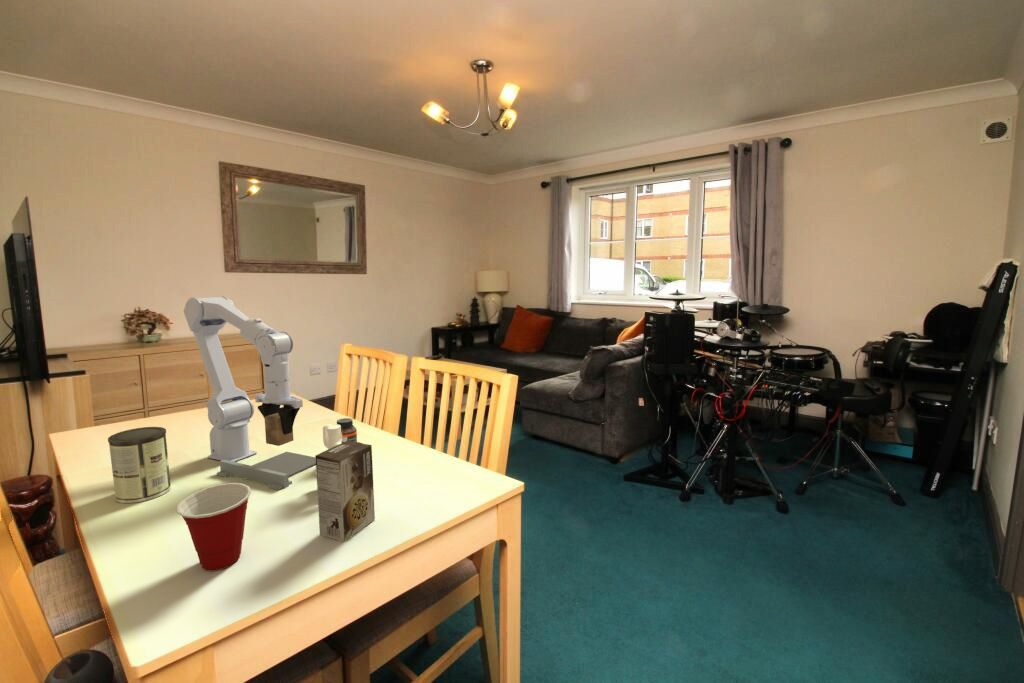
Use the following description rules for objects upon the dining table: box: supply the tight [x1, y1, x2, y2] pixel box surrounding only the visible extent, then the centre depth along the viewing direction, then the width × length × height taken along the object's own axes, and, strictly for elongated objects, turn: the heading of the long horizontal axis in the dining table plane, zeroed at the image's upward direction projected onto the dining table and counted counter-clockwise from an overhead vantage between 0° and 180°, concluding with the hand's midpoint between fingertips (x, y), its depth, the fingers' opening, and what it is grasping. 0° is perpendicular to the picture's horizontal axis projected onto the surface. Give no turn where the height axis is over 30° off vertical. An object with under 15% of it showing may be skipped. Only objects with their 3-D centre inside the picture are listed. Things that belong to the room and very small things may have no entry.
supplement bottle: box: [336, 417, 358, 443], centre depth 128 cm, size 6×6×11 cm
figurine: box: [314, 423, 342, 476], centre depth 111 cm, size 7×9×15 cm
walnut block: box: [264, 413, 294, 447], centre depth 123 cm, size 4×4×7 cm
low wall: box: [216, 460, 293, 491], centre depth 117 cm, size 22×4×3 cm, turn 67°
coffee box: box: [314, 441, 376, 542], centre depth 94 cm, size 9×6×16 cm
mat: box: [251, 451, 316, 479], centre depth 126 cm, size 14×12×1 cm
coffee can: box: [107, 426, 172, 504], centre depth 108 cm, size 10×10×14 cm
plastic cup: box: [176, 482, 252, 572], centre depth 82 cm, size 11×11×12 cm
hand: (280, 431), depth 123 cm, fingers closed on walnut block, 4 cm apart
